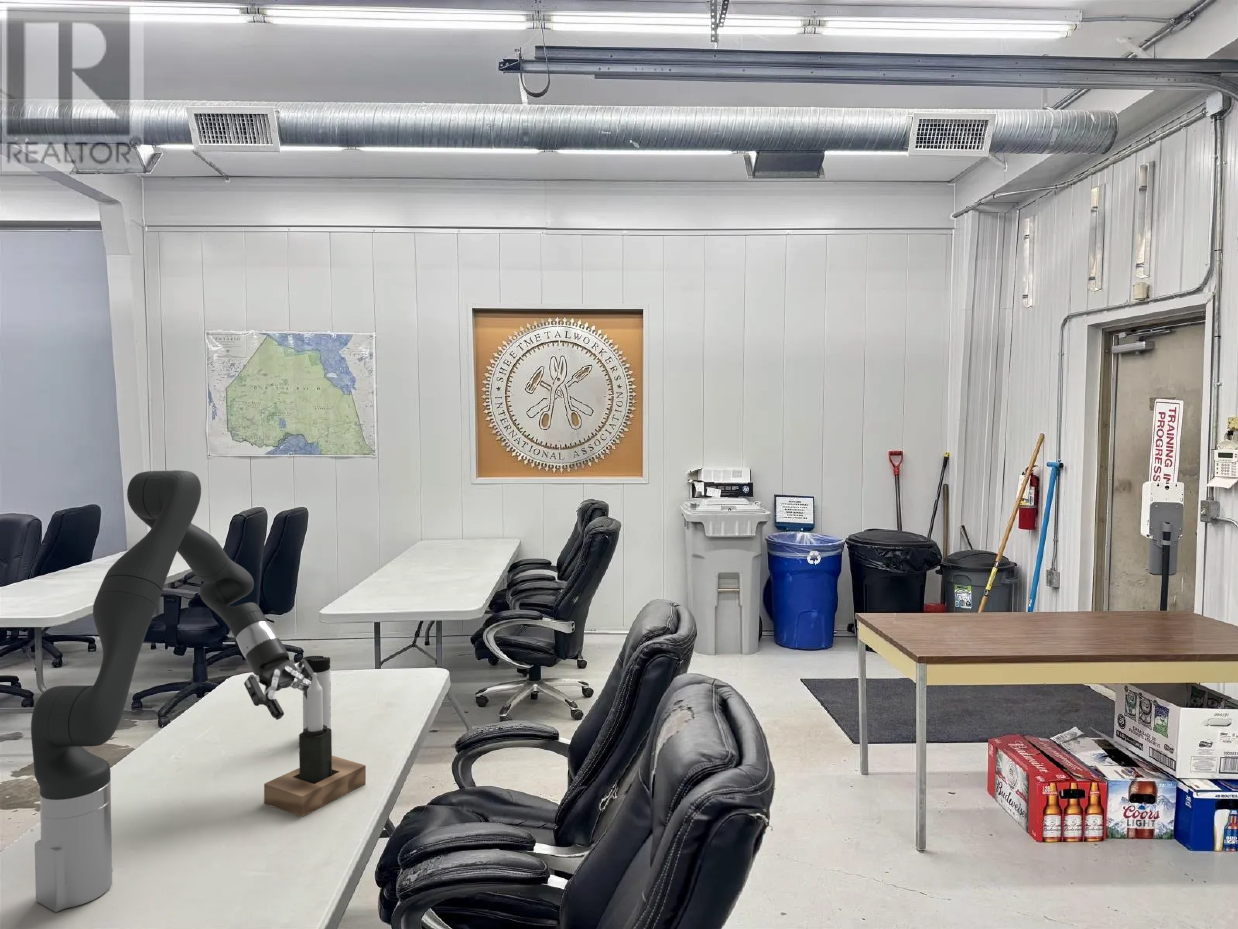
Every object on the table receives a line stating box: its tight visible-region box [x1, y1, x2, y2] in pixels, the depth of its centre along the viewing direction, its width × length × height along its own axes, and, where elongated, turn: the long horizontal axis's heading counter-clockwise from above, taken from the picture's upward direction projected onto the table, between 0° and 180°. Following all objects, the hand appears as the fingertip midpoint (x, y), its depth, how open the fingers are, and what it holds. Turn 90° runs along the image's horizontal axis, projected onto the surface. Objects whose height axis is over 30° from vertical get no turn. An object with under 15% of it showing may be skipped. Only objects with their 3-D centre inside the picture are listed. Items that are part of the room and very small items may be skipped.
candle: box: [298, 673, 333, 784], centre depth 157 cm, size 5×5×25 cm
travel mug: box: [302, 655, 332, 731], centre depth 186 cm, size 6×7×20 cm
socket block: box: [263, 755, 367, 818], centre depth 158 cm, size 16×11×4 cm
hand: (298, 710), depth 160 cm, fingers open, 8 cm apart
